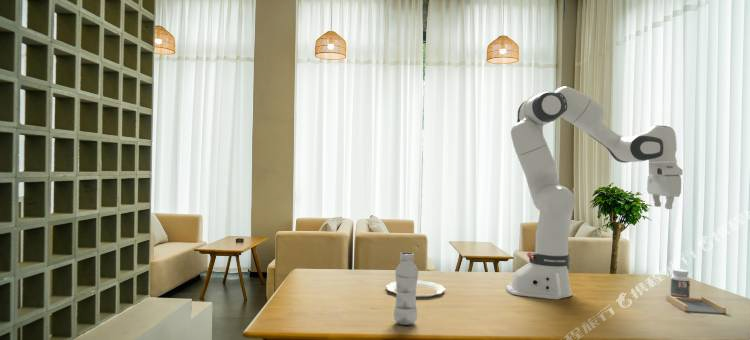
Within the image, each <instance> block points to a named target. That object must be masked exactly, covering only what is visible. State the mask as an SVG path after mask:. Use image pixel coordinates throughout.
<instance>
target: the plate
mask: <svg viewBox="0 0 750 340" xmlns="http://www.w3.org/2000/svg"><path fill="white" fill-rule="evenodd" d="M416 287H424V288H425V287H426V288H430V289H433V290H435V291H436V293H432V294H416V298H430V297H434V296H438V295H441V294H442V293H444V292H445V291H446V288H445V287H444V286H443V285H442V284H439V283H435V282H433V281H425V280H418V279H417V285H416ZM385 288H386V289H387V291H388V292H391V293H393V294H396V295H397V291H395V289H397V287H396V281H391V282H390V283H388V284H386V285H385Z"/></svg>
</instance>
